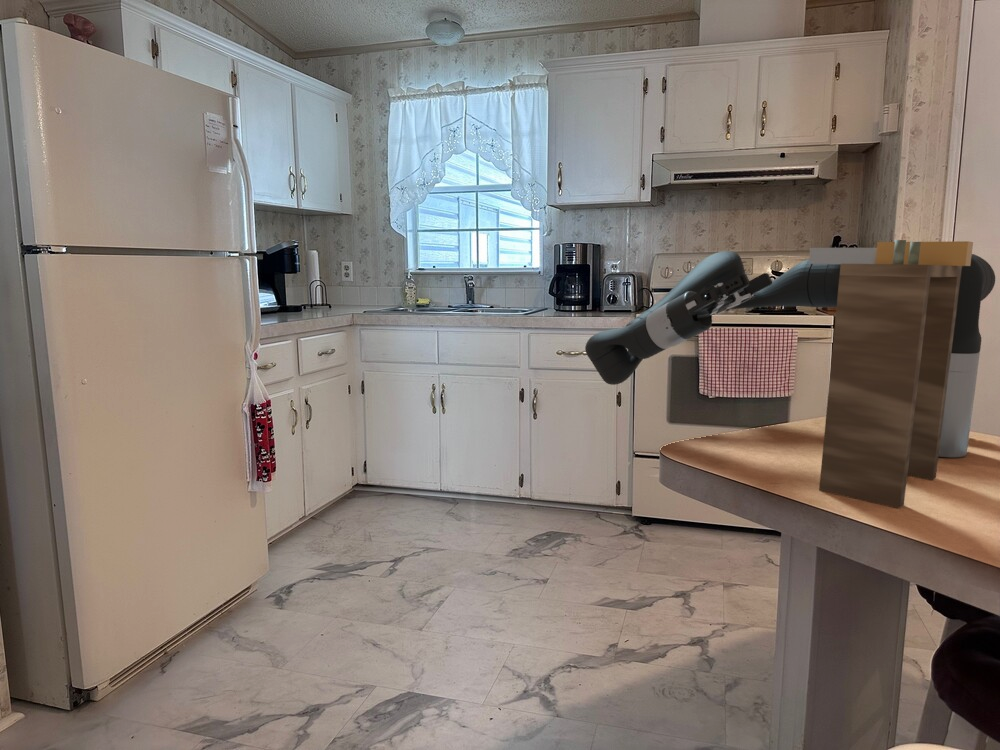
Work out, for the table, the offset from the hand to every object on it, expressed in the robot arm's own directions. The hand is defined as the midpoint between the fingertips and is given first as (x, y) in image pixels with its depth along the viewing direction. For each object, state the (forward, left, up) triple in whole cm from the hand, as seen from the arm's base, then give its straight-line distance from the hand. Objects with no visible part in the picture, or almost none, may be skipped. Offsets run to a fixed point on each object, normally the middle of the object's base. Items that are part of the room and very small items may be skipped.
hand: (758, 278), depth 112 cm
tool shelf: (+4, +22, -29) cm, 36 cm away
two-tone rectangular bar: (-1, +18, +2) cm, 19 cm away
